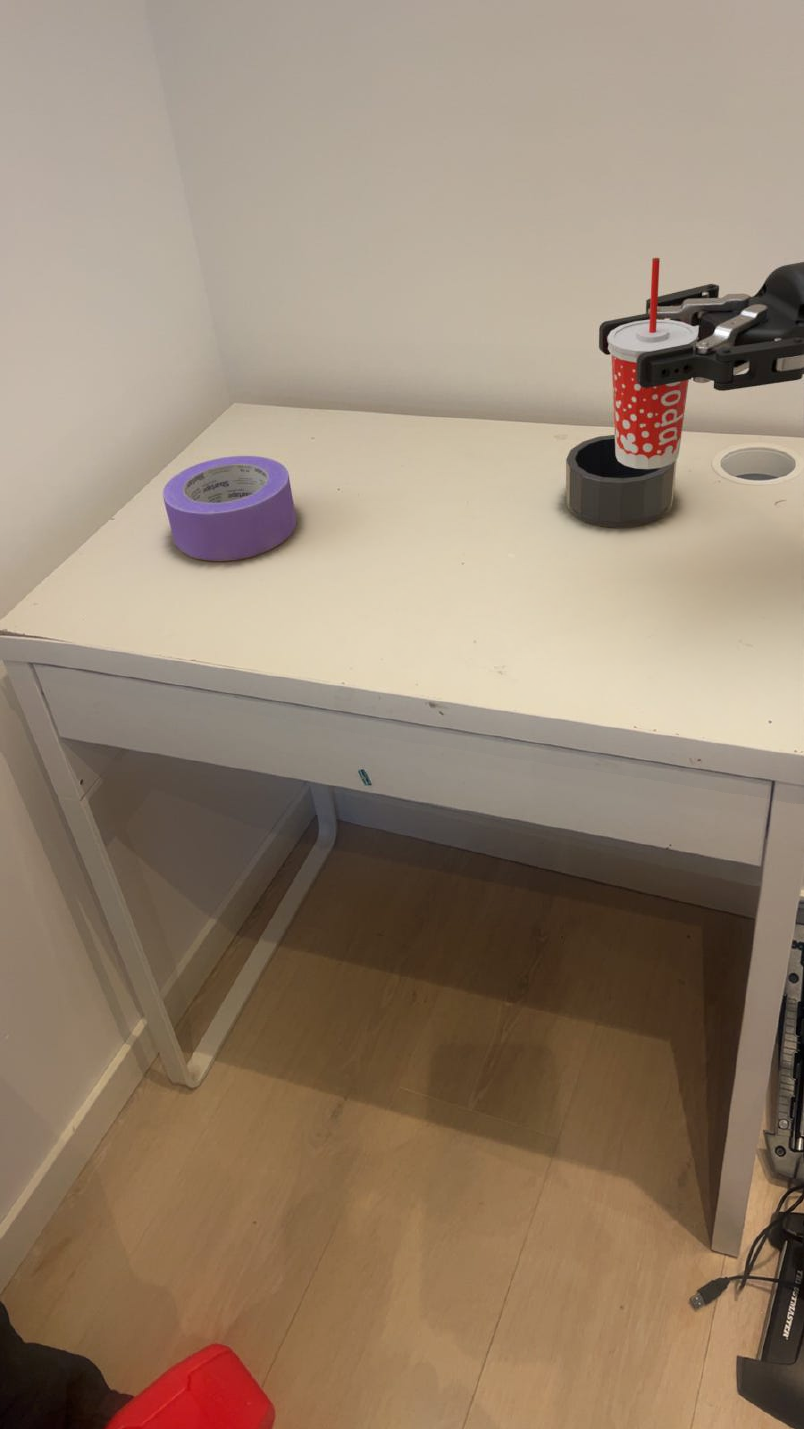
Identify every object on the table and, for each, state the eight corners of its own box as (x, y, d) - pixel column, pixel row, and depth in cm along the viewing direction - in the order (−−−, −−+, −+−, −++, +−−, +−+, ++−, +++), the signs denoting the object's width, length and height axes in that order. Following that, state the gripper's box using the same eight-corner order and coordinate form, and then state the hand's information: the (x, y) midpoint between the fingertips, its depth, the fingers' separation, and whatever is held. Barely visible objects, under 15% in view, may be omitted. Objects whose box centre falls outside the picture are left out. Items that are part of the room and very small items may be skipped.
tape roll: (228, 492, 105) (218, 446, 102) (321, 513, 100) (313, 465, 97) (149, 547, 98) (135, 499, 95) (244, 573, 92) (233, 523, 89)
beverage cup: (624, 480, 75) (631, 279, 66) (592, 446, 79) (594, 255, 71) (704, 463, 75) (720, 262, 67) (667, 431, 80) (678, 239, 71)
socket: (657, 473, 100) (660, 429, 97) (684, 521, 92) (689, 475, 90) (558, 484, 100) (558, 440, 97) (577, 533, 92) (578, 487, 90)
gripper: (795, 231, 77) (581, 271, 75) (912, 285, 66) (666, 334, 64) (782, 332, 82) (581, 372, 80) (890, 399, 71) (659, 447, 69)
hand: (619, 355), depth 72 cm, fingers closed on beverage cup, 6 cm apart
